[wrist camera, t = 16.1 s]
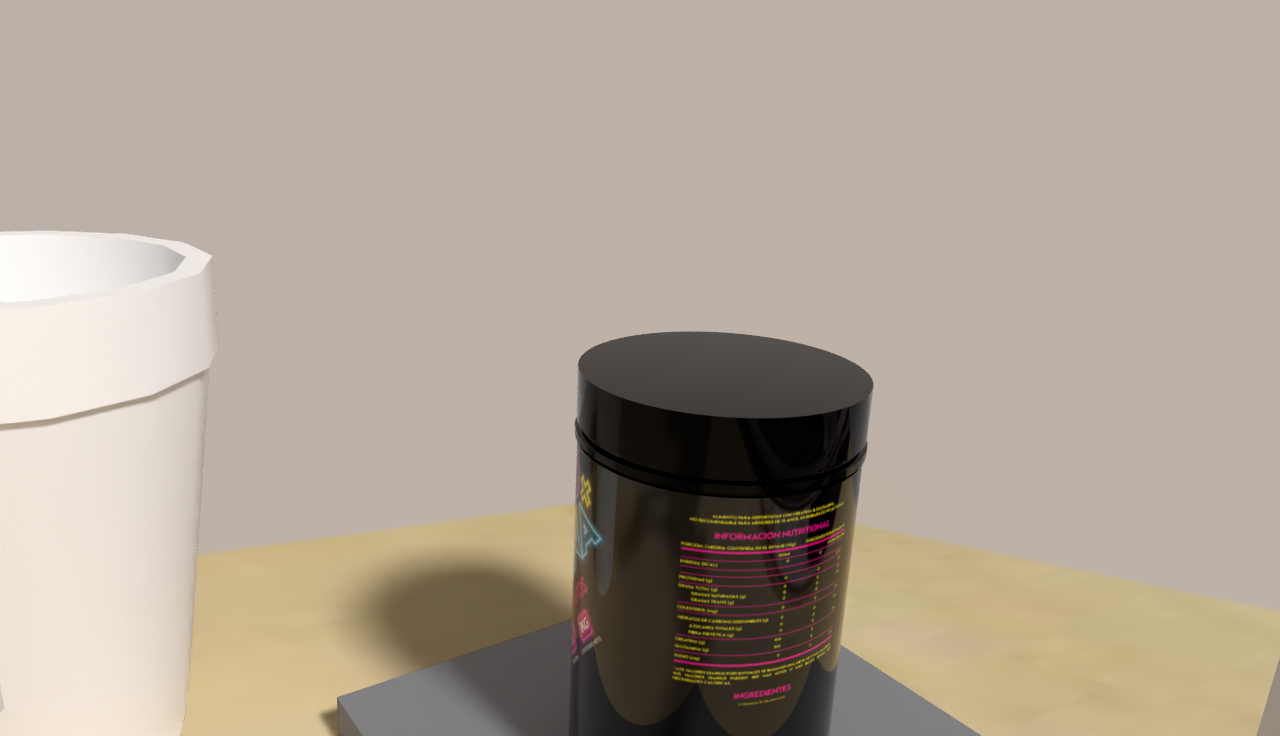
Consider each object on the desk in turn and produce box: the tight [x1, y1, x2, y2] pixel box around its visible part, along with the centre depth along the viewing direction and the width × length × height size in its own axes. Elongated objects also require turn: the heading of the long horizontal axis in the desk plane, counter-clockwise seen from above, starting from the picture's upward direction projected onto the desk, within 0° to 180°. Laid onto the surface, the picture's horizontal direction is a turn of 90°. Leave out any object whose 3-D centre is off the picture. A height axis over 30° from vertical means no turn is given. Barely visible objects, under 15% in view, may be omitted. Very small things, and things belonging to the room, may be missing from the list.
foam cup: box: [0, 231, 219, 736], centre depth 24 cm, size 10×9×13 cm
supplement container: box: [569, 332, 873, 736], centre depth 24 cm, size 7×7×10 cm
